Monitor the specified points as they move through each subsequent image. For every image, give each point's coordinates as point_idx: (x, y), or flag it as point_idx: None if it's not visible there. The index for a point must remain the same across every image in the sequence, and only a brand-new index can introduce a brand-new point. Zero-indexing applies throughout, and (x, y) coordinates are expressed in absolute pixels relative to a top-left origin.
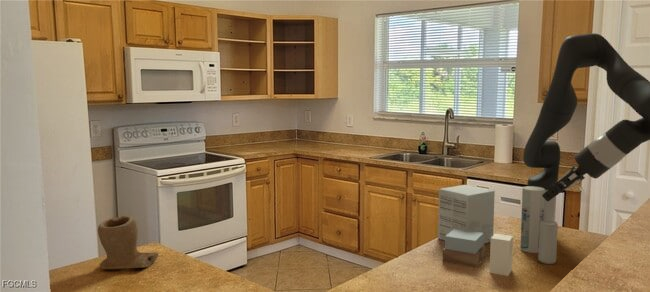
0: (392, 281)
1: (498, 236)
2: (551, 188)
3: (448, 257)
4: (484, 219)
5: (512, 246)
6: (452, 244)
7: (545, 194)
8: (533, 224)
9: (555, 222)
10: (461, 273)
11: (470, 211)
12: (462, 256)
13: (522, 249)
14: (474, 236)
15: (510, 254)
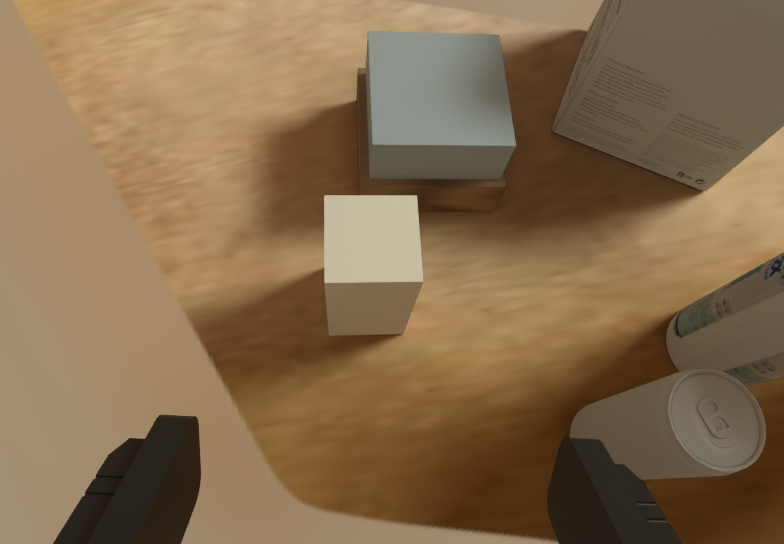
0: (79, 30)
1: (373, 220)
2: (94, 534)
3: (357, 106)
4: (708, 102)
5: (407, 299)
6: (367, 80)
7: (109, 457)
8: (764, 323)
9: (754, 454)
10: (265, 184)
11: (636, 20)
12: (359, 144)
13: (674, 317)
14: (435, 126)
15: (364, 309)
